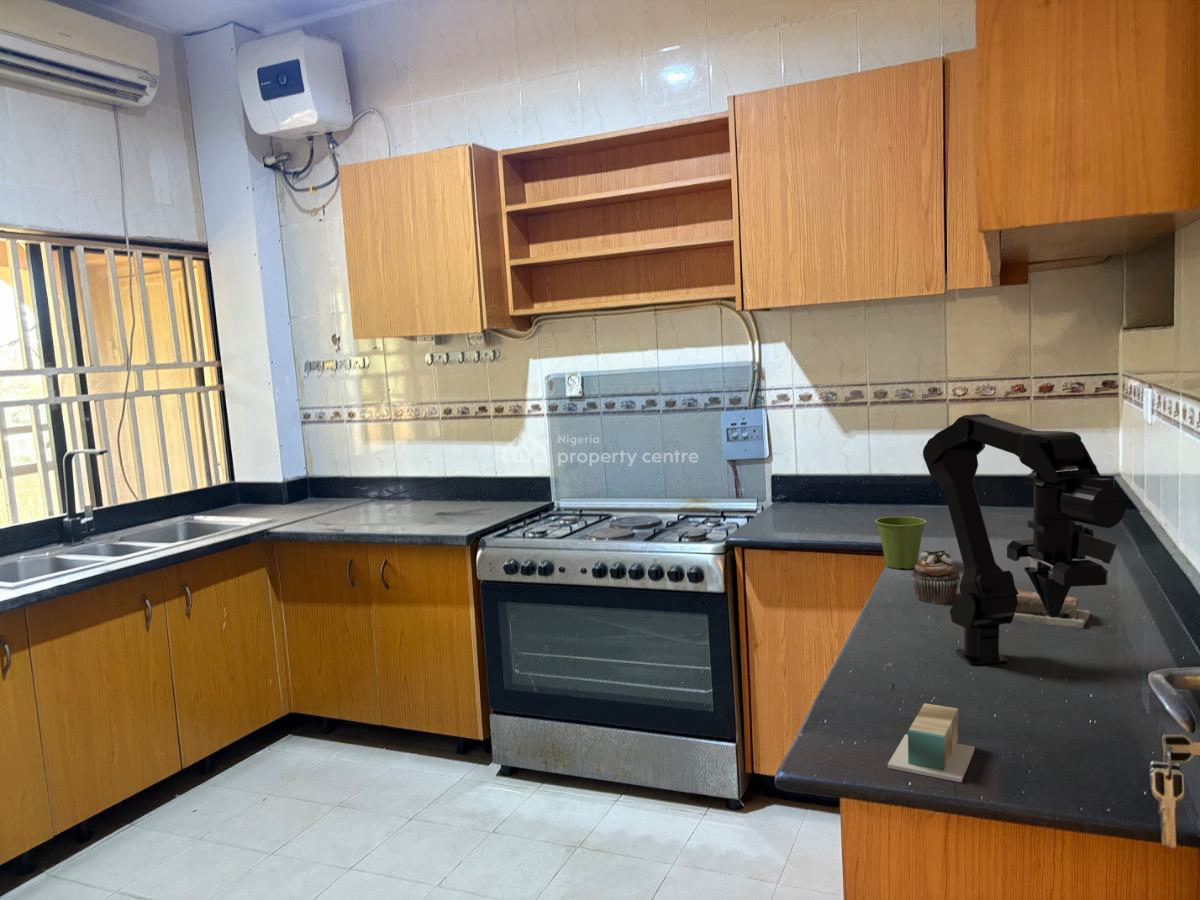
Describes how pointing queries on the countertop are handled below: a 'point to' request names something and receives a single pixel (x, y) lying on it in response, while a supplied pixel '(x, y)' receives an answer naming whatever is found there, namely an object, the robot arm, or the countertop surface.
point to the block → (933, 736)
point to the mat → (951, 772)
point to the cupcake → (935, 578)
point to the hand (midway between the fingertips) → (1053, 616)
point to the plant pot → (901, 540)
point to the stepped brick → (1035, 612)
